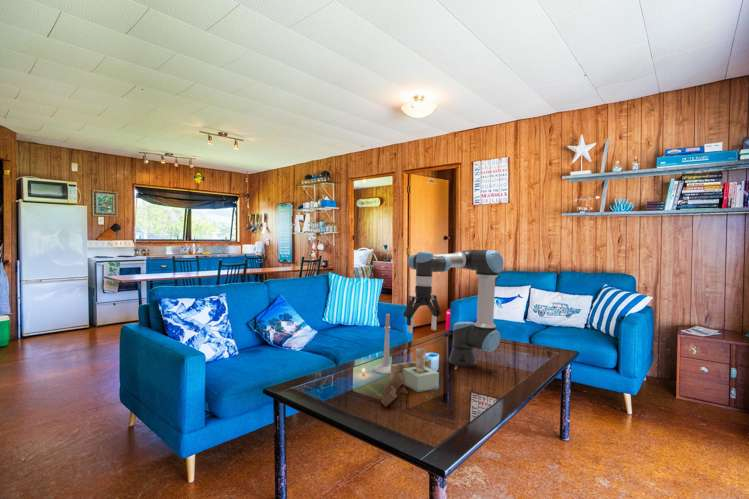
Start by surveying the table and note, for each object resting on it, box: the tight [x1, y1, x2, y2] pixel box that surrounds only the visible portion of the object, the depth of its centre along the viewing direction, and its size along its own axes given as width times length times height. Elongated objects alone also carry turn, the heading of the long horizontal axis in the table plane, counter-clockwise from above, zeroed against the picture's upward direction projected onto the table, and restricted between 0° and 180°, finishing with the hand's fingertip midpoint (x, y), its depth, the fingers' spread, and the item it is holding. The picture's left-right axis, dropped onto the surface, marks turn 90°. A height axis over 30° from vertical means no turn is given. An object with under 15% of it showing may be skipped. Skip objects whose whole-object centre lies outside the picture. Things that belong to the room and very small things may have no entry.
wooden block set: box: [380, 373, 409, 408], centre depth 167 cm, size 18×9×10 cm
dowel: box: [415, 347, 426, 374], centre depth 181 cm, size 4×4×16 cm
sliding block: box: [402, 366, 440, 393], centre depth 181 cm, size 12×12×7 cm
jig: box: [389, 358, 432, 382], centre depth 179 cm, size 22×21×10 cm
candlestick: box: [373, 313, 392, 375], centre depth 205 cm, size 13×13×30 cm
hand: (422, 331), depth 181 cm, fingers open, 13 cm apart
